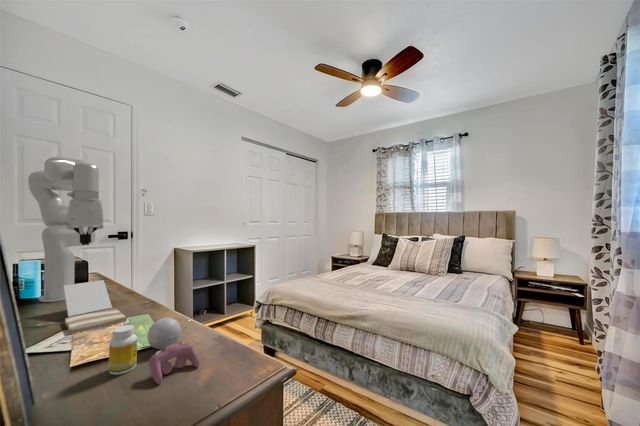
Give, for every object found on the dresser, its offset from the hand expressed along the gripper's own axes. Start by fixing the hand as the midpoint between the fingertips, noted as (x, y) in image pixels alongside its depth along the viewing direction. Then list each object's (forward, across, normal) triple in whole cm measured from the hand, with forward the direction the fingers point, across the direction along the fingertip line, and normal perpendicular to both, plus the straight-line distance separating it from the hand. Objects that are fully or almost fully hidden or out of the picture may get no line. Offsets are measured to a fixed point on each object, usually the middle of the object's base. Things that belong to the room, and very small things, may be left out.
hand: (85, 244), depth 104 cm
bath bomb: (+25, +9, -54) cm, 60 cm away
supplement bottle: (+25, -1, -58) cm, 63 cm away
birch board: (+25, +1, -18) cm, 31 cm away
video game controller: (+26, +6, -68) cm, 73 cm away
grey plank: (+20, 0, -2) cm, 21 cm away
